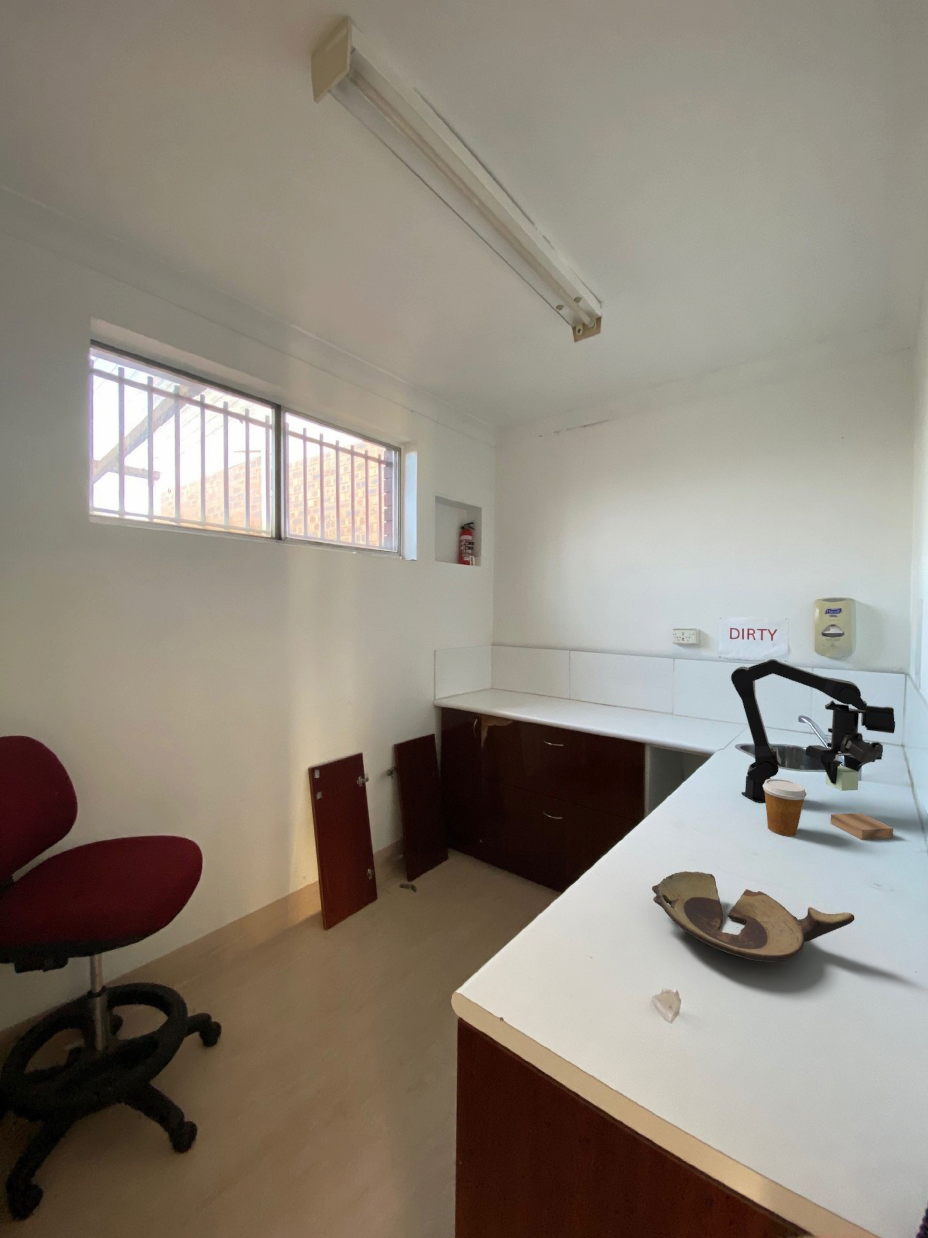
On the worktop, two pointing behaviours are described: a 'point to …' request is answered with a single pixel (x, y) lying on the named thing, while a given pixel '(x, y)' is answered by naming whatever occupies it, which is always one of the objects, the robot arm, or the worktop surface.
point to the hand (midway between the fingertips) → (841, 783)
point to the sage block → (845, 779)
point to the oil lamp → (741, 918)
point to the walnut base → (861, 826)
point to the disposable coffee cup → (783, 805)
